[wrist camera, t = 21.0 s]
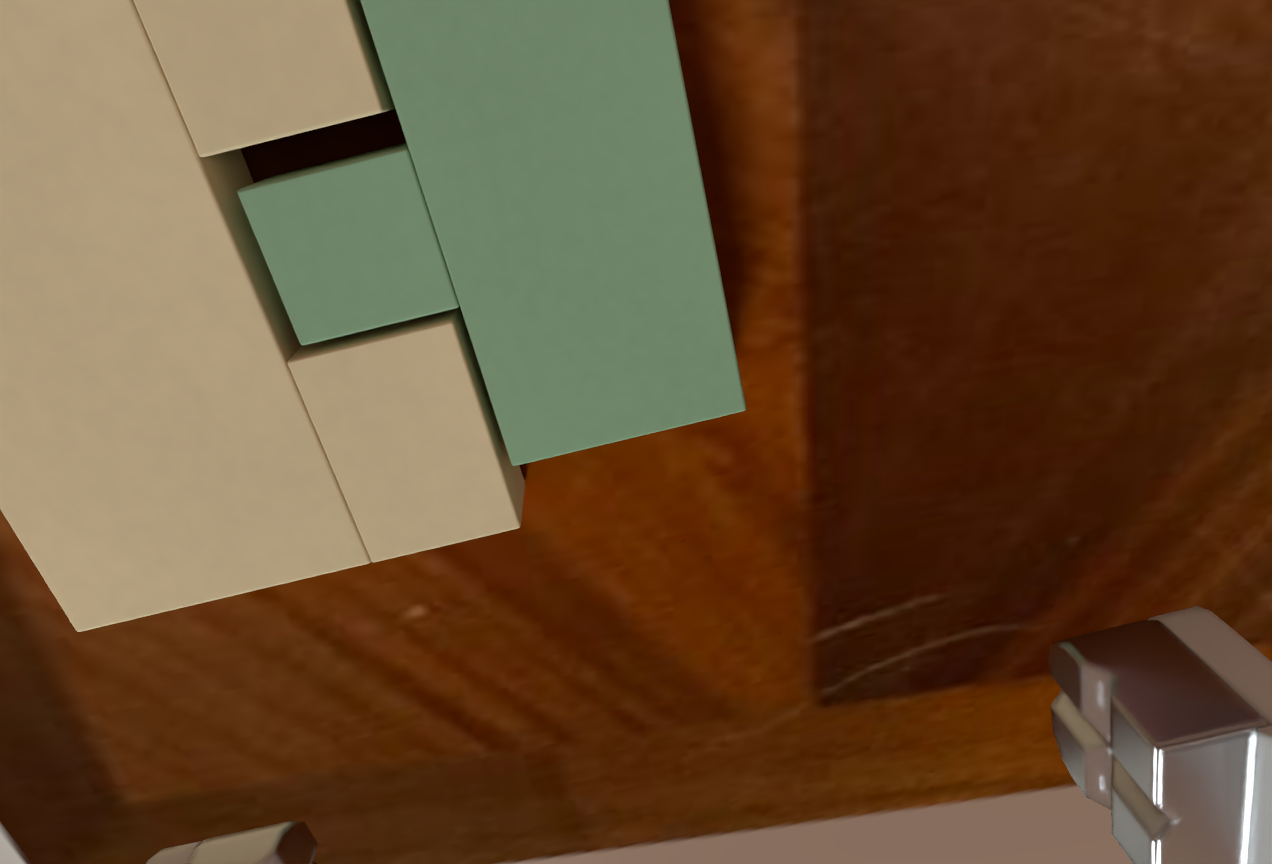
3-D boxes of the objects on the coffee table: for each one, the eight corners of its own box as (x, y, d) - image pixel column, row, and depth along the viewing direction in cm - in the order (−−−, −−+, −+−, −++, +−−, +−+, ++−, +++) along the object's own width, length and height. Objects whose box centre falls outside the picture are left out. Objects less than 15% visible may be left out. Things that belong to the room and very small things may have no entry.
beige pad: (526, 484, 24) (521, 529, 22) (123, 580, 24) (76, 633, 22) (313, -181, 17) (274, -218, 15) (-234, -38, 18) (-353, -53, 15)
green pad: (729, 377, 23) (747, 411, 21) (384, 460, 23) (364, 503, 21) (630, -131, 18) (639, -158, 16) (196, -18, 18) (143, -29, 16)
